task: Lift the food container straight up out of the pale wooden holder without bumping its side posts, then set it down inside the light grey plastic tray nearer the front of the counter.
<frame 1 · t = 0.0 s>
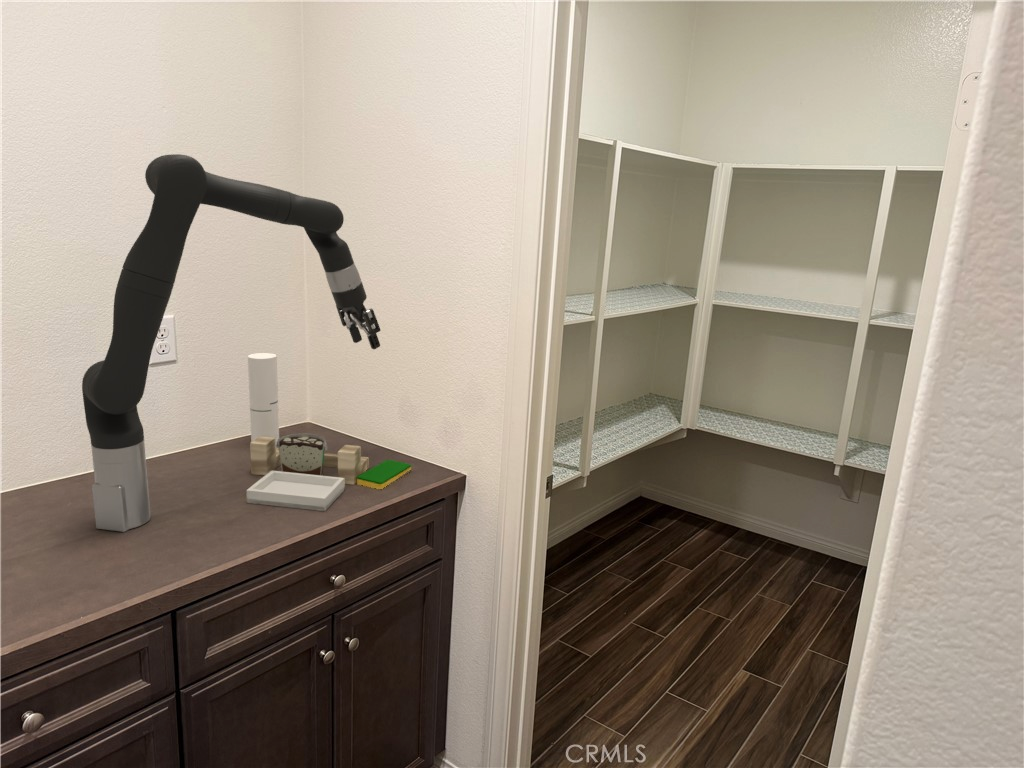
hand: (367, 344, 172), 31 cm above the countertop, tool tilted 20°, fingers open, 8 cm apart
dish sponge: (384, 480, 172), on the countertop
holder: (306, 475, 170), on the countertop
cylindrical container: (265, 446, 189), on the countertop
food container: (306, 476, 171), on the countertop
tray: (297, 496, 159), on the countertop
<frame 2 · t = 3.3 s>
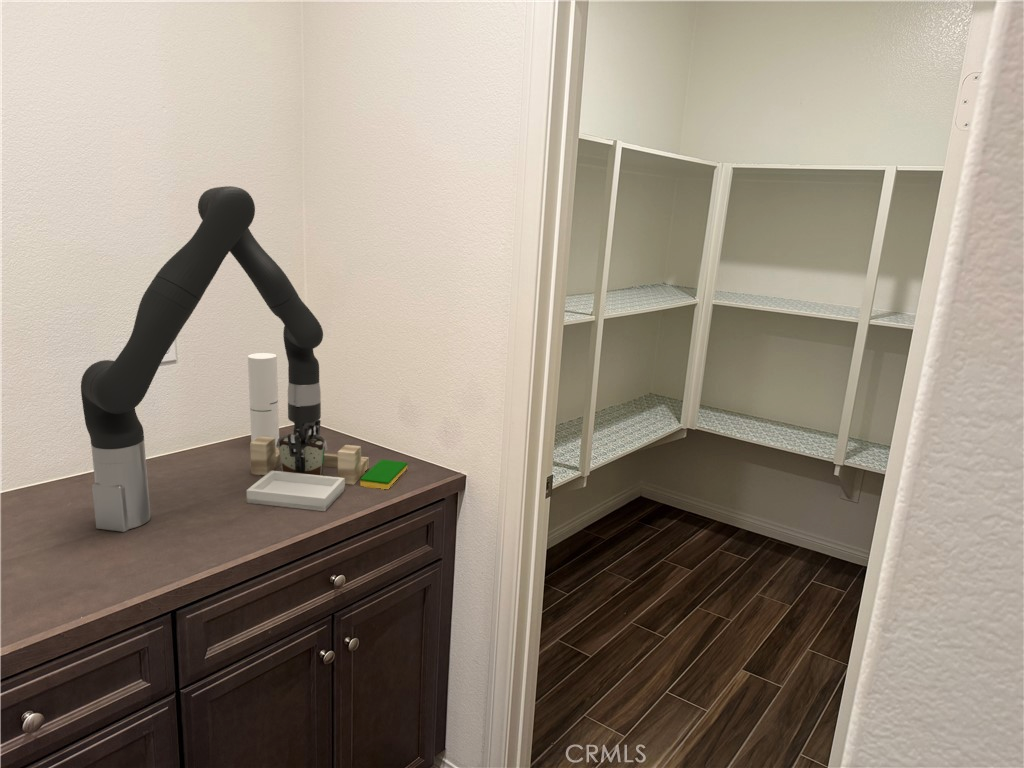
hand: (305, 466, 169), 2 cm above the countertop, tool pointing down, fingers closed on food container, 5 cm apart
food container: (306, 476, 171), on the countertop, touching gripper
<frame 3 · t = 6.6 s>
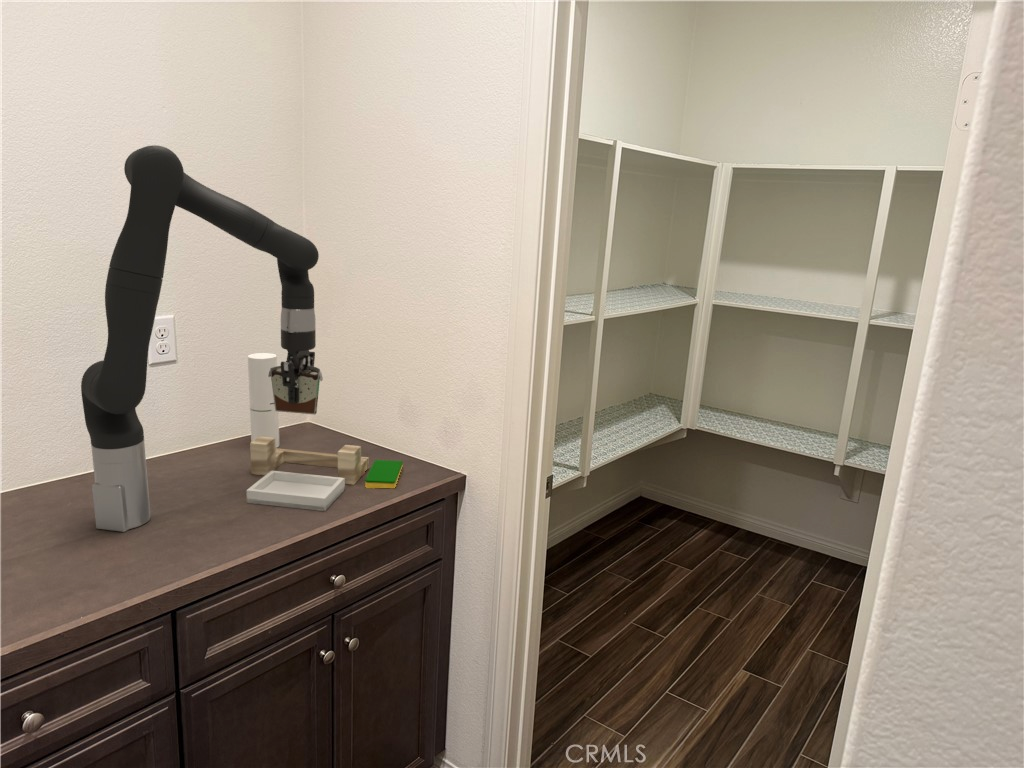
hand: (298, 399, 160), 21 cm above the countertop, tool pointing down, fingers closed on food container, 5 cm apart
food container: (300, 410, 162), point 18 cm above the countertop, touching gripper
when the fingers open (5 cm above the countertop, at t = 9.7 s): food container stays where it is, resting on tray.
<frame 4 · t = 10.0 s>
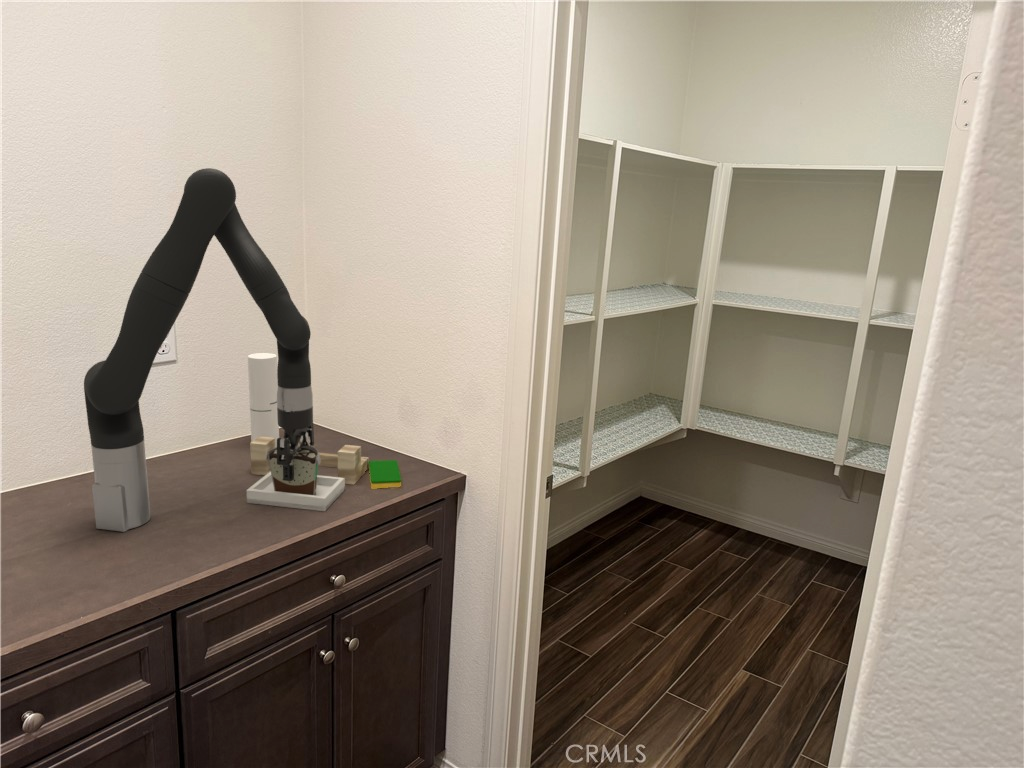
hand: (296, 473, 157), 6 cm above the countertop, tool pointing down, fingers open, 8 cm apart
food container: (300, 489, 160), point 1 cm above the countertop, touching gripper, tray
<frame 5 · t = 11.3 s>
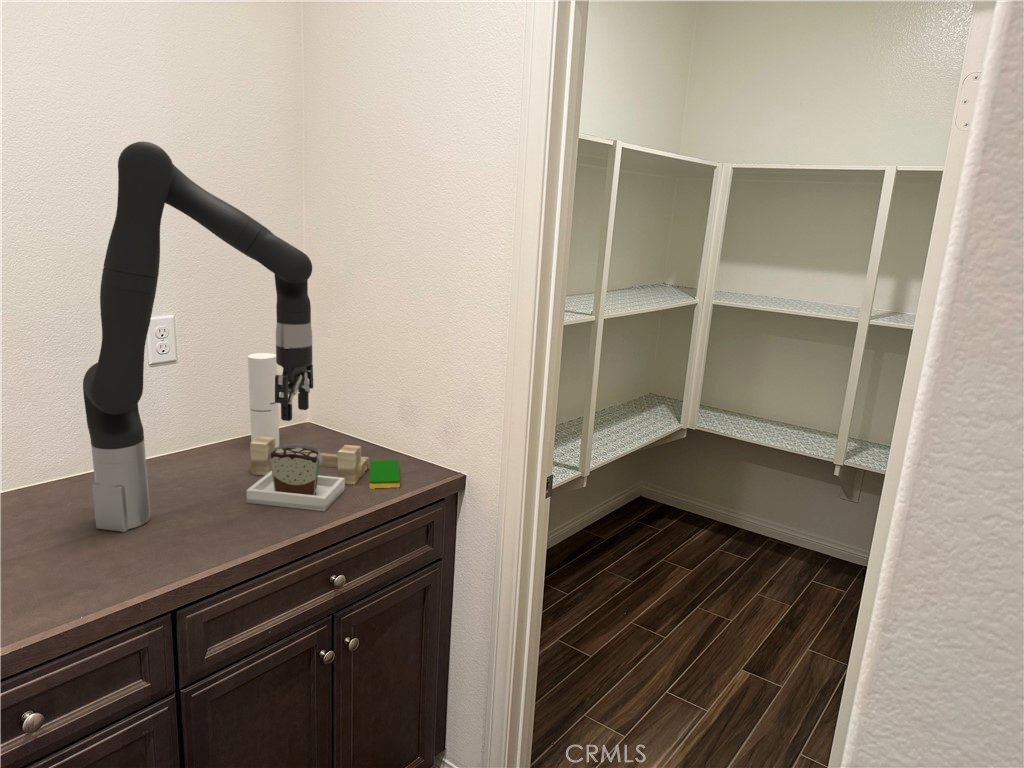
hand: (295, 414, 154), 20 cm above the countertop, tool pointing down, fingers open, 8 cm apart
food container: (300, 490, 160), point 1 cm above the countertop, touching tray
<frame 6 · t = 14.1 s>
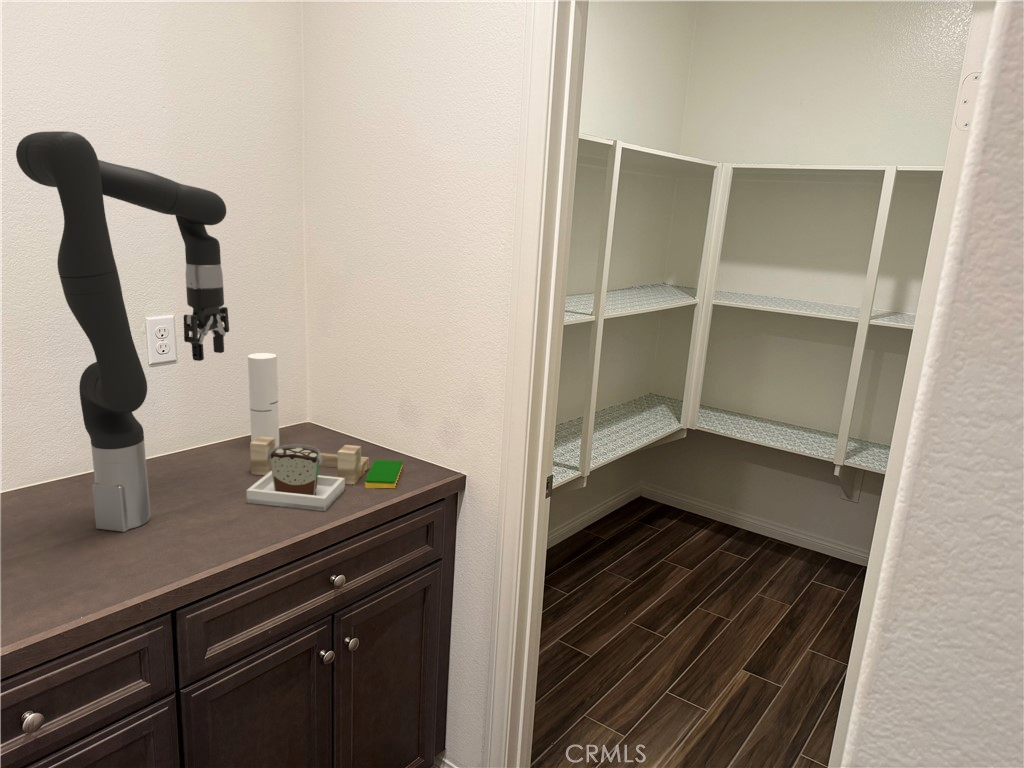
hand: (208, 356, 157), 30 cm above the countertop, tool pointing down, fingers open, 8 cm apart
at the end: food container inside the target area on the tray (1.6 cm from its centre), point 0.8 cm above the tray's base; food container tilted 0°; holder moved 0.0 cm from its start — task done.
